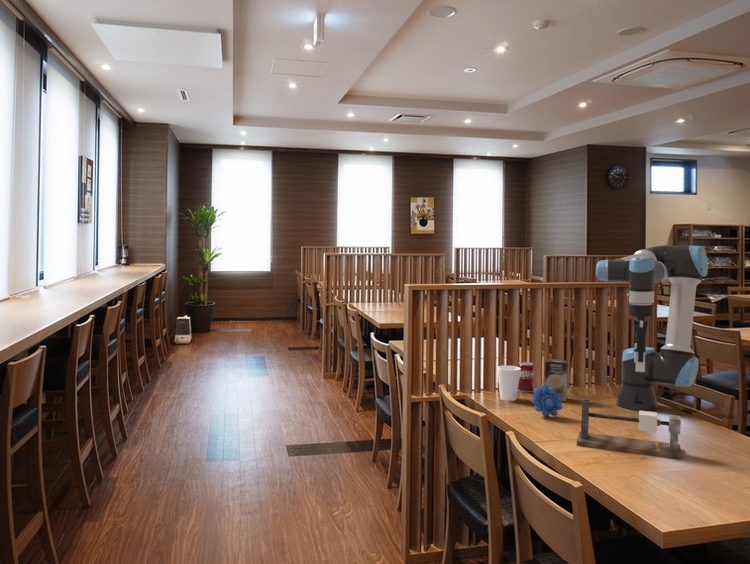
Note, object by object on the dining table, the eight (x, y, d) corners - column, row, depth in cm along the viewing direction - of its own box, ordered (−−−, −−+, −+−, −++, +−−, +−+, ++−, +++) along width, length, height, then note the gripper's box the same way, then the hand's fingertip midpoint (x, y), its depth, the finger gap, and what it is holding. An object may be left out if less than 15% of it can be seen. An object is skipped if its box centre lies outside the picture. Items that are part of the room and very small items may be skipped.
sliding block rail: (576, 445, 192) (578, 403, 191) (579, 436, 201) (580, 396, 200) (681, 459, 180) (683, 415, 179) (679, 448, 189) (681, 406, 188)
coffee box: (543, 399, 248) (544, 361, 247) (544, 395, 254) (545, 358, 253) (566, 401, 245) (567, 362, 244) (566, 397, 251) (568, 359, 250)
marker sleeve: (638, 430, 187) (639, 414, 186) (638, 425, 191) (639, 410, 191) (656, 432, 185) (657, 416, 184) (655, 428, 189) (656, 412, 189)
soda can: (534, 393, 258) (535, 365, 258) (517, 392, 260) (517, 364, 259) (533, 389, 266) (534, 362, 265) (516, 388, 267) (517, 361, 266)
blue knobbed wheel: (534, 420, 219) (535, 387, 218) (529, 414, 226) (529, 383, 225) (565, 420, 219) (566, 387, 219) (559, 414, 226) (560, 383, 225)
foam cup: (494, 396, 253) (494, 365, 252) (515, 395, 253) (516, 365, 253) (500, 402, 243) (501, 370, 242) (522, 401, 244) (523, 370, 243)
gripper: (627, 298, 211) (626, 358, 213) (629, 308, 188) (627, 374, 190) (651, 299, 208) (649, 359, 210) (655, 309, 185) (654, 376, 187)
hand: (639, 367), depth 200 cm, fingers open, 13 cm apart
